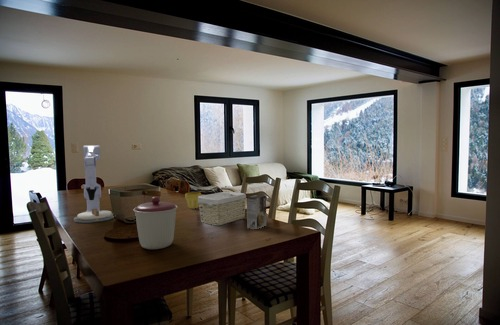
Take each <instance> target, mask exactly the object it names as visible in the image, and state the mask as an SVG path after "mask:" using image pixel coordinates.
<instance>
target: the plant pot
mask: <svg viewBox="0 0 500 325" xmlns="http://www.w3.org/2000/svg"><path fill="white" fill-rule="evenodd" d="M184 196H185V200H186V204H187V207H188V209H190V210H191V209H193V210H195V208H196V209H199V208H198V207H199V203H198V197H199V196H202V193H201V192H186V193H185V194H184Z"/></svg>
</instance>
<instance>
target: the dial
mask: <svg viewBox="0 0 500 325" xmlns="http://www.w3.org/2000/svg"><path fill="white" fill-rule="evenodd" d="M111 215H112V211H110V210H106V209H105V210H103V209H102V210H99V211H98V210H97V208H94V209H92V211H89V212H86V211H83V212H81V213H78V214H77V216H76V217H78V219H80V220H95V219H102V218H107V217H110V216H111Z"/></svg>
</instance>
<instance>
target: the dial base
mask: <svg viewBox="0 0 500 325" xmlns="http://www.w3.org/2000/svg"><path fill="white" fill-rule="evenodd" d="M111 213H112V212H111ZM113 214H114V213H112V215H111V216H110V217H107V218H102V219H95V220H80V219H78V217H77V216H75V217H73V222H74V223H76V224H95V223H103V222H108V221H111V220H113V219H115V218H114V216H113Z"/></svg>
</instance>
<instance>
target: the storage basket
mask: <svg viewBox="0 0 500 325" xmlns="http://www.w3.org/2000/svg"><path fill="white" fill-rule="evenodd" d="M246 202H247V195H246V193H244V192H243V193H242V192H238V191H237V192H235V191H223V192H221V191H220V192H216V193H210V194H206V195H205V194H204V195H201V196H199V197H198V203H199V208H198V209H199V214H200V222H201V223H203V222H204V223H203V224H208V225H211V224H212V225H211V226H222V225H226V224H230V223H233V222H236V221H239V220H242V219H245V215H246Z"/></svg>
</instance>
